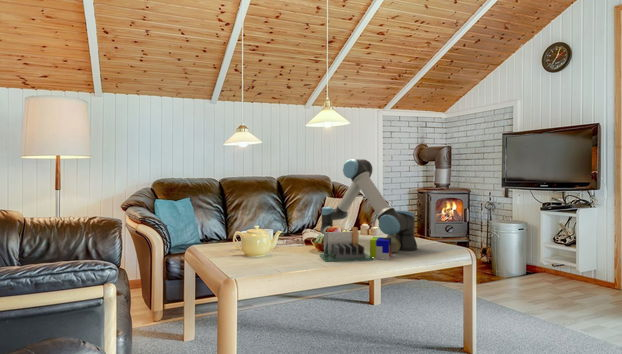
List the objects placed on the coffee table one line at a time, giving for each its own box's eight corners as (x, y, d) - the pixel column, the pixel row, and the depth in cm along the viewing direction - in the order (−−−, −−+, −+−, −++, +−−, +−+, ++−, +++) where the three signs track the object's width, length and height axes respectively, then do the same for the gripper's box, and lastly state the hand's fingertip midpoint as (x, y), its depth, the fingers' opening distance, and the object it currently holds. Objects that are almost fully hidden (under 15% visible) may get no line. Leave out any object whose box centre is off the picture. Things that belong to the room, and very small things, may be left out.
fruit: (402, 252, 245) (400, 231, 247) (400, 252, 236) (398, 231, 238) (384, 252, 248) (383, 232, 250) (382, 253, 240) (380, 232, 241)
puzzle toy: (388, 259, 225) (388, 240, 224) (370, 257, 228) (370, 239, 228) (390, 255, 234) (391, 237, 234) (373, 254, 237) (373, 236, 237)
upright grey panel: (357, 252, 235) (357, 231, 235) (358, 253, 232) (358, 231, 232) (323, 253, 232) (323, 232, 231) (324, 254, 229) (324, 232, 229)
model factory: (364, 254, 237) (364, 226, 237) (372, 259, 222) (373, 230, 222) (319, 255, 233) (319, 227, 232) (325, 261, 218) (325, 231, 217)
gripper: (340, 238, 270) (350, 244, 246) (320, 238, 267) (328, 245, 244) (340, 226, 269) (350, 232, 246) (320, 227, 267) (328, 232, 244)
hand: (339, 238), depth 245 cm, fingers closed
